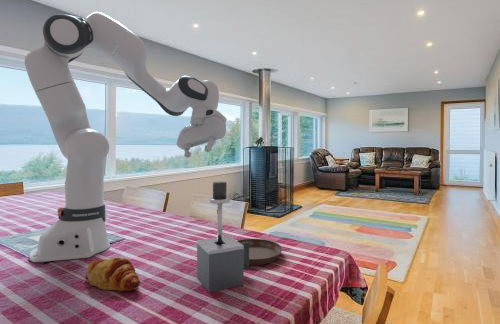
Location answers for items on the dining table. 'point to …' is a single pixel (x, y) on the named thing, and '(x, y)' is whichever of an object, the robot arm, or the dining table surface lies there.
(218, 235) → the plunger
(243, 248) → the matte gray cube
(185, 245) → the dining table surface
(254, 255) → the plant saucer
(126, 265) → the croissant
